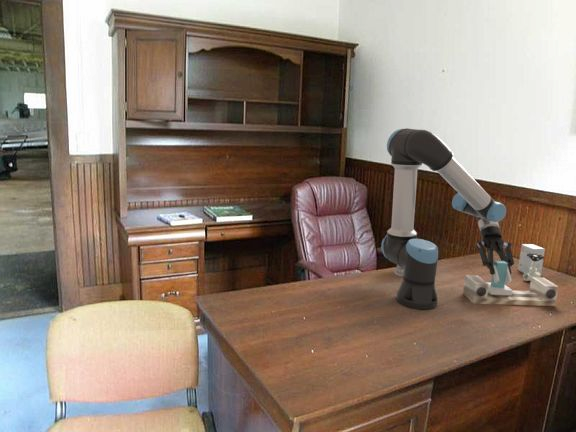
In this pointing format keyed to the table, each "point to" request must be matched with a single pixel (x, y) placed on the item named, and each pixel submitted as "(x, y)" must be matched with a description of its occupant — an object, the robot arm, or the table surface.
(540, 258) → the valve
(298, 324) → the table surface
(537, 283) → the rail board
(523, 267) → the small box
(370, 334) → the table surface
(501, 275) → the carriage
